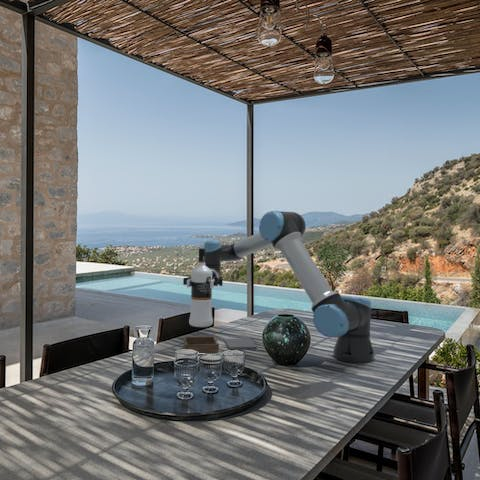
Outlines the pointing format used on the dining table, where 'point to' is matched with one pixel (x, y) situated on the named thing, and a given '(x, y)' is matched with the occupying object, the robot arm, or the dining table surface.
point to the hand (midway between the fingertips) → (199, 284)
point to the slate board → (240, 344)
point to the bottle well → (202, 344)
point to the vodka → (201, 294)
